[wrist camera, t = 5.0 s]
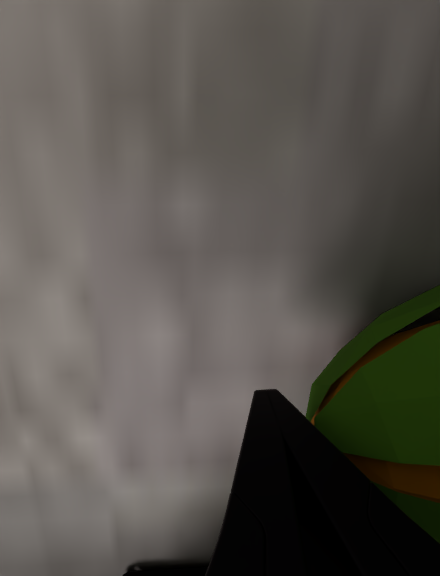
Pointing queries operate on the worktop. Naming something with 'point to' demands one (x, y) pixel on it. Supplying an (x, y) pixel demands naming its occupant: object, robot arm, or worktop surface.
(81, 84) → the worktop surface
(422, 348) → the corn
